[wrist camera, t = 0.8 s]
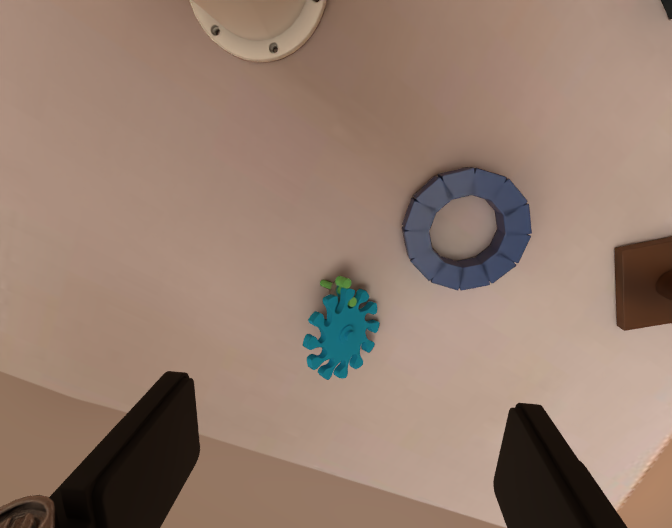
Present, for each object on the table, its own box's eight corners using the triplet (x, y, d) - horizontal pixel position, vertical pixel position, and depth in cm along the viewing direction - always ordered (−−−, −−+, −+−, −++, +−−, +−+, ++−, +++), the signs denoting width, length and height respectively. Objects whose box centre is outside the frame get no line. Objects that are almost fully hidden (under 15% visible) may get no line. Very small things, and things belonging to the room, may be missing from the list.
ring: (393, 184, 36) (395, 187, 34) (514, 155, 35) (524, 155, 32) (414, 290, 40) (417, 299, 37) (526, 268, 38) (536, 276, 36)
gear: (378, 369, 41) (308, 395, 35) (344, 350, 46) (276, 370, 39) (388, 275, 39) (316, 284, 33) (351, 265, 44) (281, 271, 37)
